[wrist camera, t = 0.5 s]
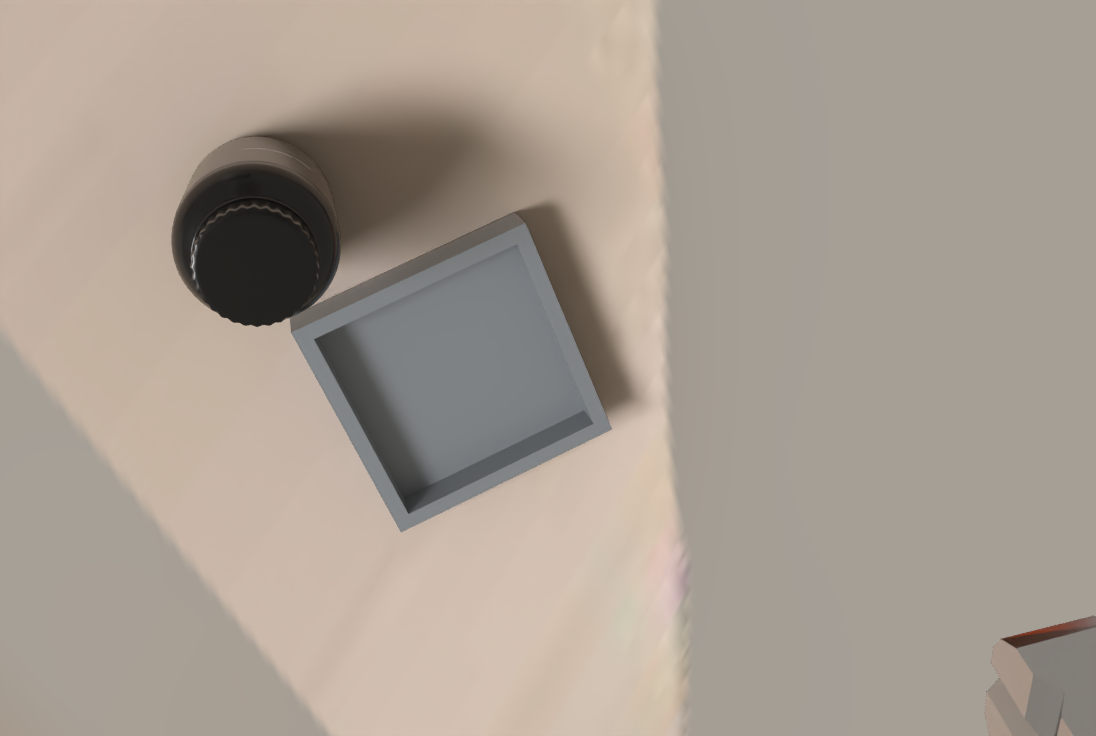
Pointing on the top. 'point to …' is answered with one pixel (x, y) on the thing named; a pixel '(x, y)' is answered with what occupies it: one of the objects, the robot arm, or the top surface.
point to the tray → (453, 371)
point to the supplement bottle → (257, 232)
